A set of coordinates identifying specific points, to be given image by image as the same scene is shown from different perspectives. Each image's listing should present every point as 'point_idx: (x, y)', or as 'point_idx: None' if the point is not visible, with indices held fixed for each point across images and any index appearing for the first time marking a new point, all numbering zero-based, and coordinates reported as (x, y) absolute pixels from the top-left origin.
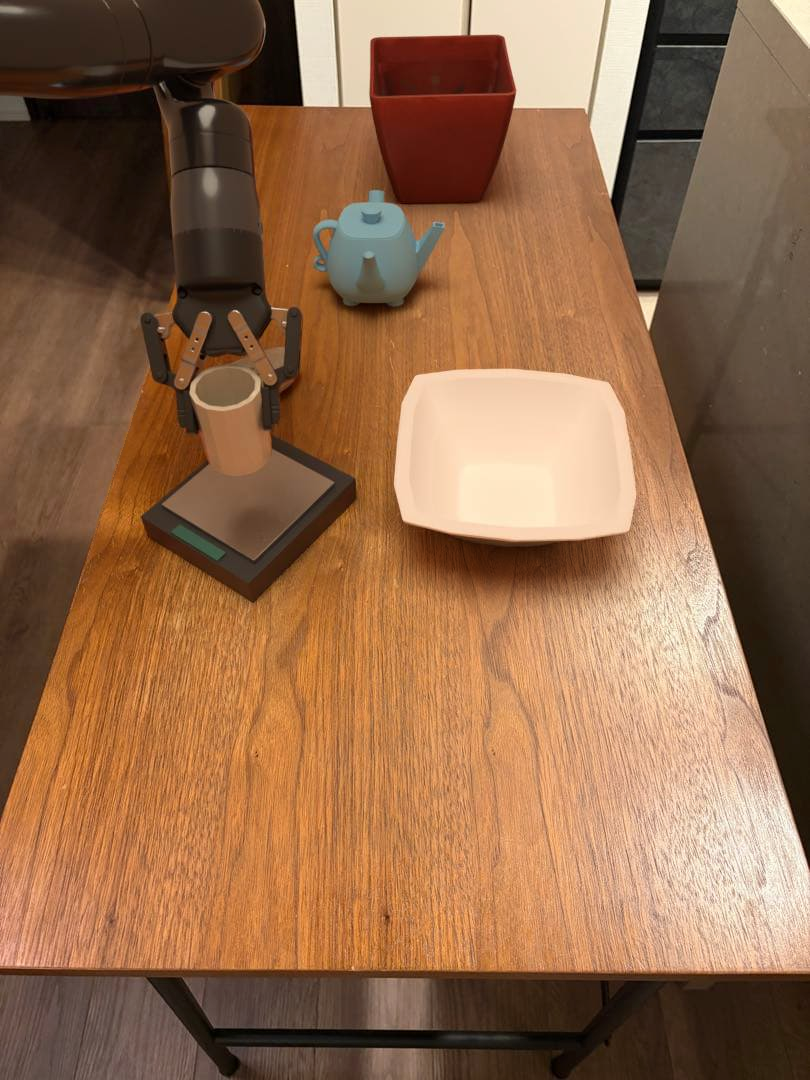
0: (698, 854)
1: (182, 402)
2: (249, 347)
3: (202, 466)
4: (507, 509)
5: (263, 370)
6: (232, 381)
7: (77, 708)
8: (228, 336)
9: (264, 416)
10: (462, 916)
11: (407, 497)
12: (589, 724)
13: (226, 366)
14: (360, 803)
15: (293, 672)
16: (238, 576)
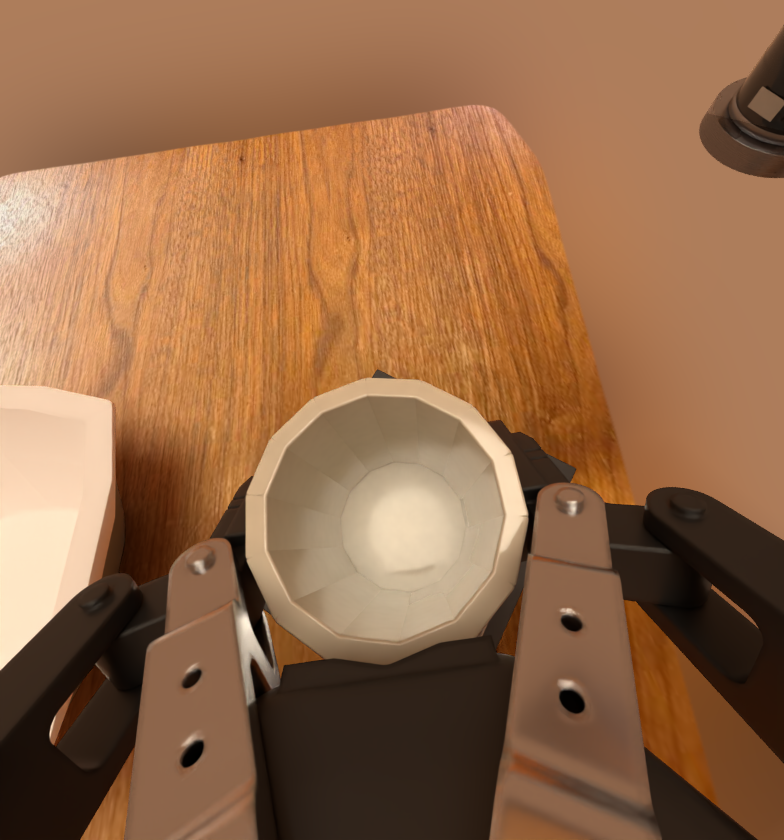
0: (19, 222)
1: (539, 471)
2: (205, 667)
3: (513, 599)
4: (36, 564)
5: (210, 584)
6: (395, 623)
7: (533, 252)
8: (345, 784)
9: None
10: (191, 167)
11: (93, 448)
12: (56, 300)
13: (403, 645)
14: (258, 217)
15: (324, 312)
16: (392, 378)
